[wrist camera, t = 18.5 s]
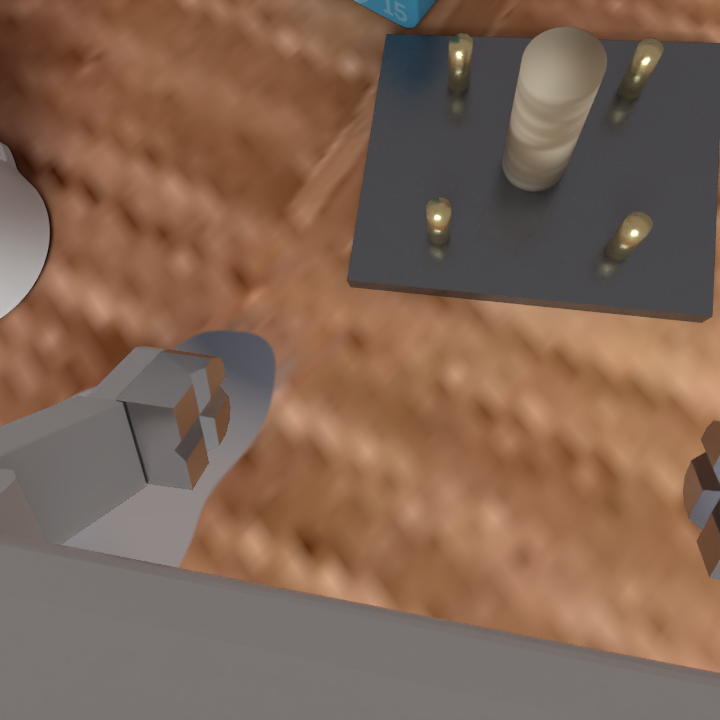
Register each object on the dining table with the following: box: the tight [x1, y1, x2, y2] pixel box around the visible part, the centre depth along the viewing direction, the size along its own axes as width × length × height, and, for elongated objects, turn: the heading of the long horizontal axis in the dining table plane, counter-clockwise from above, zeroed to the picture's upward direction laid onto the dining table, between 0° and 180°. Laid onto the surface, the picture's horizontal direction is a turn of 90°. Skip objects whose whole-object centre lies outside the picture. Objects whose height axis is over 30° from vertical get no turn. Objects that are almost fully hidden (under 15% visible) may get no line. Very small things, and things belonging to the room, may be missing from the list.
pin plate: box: [347, 33, 720, 323], centre depth 39 cm, size 24×20×6 cm
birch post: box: [502, 27, 607, 191], centre depth 35 cm, size 4×4×10 cm
